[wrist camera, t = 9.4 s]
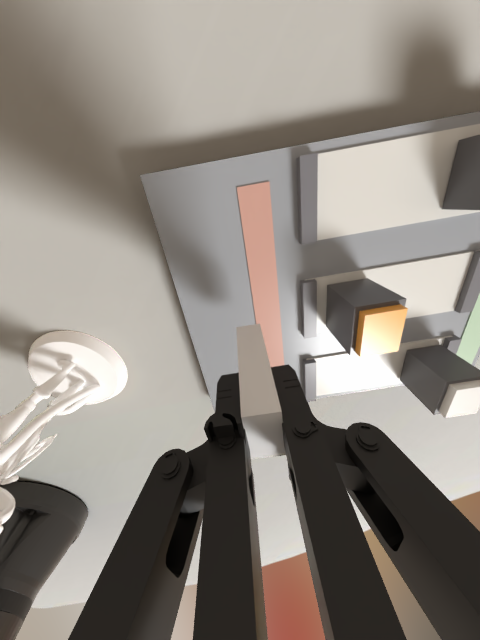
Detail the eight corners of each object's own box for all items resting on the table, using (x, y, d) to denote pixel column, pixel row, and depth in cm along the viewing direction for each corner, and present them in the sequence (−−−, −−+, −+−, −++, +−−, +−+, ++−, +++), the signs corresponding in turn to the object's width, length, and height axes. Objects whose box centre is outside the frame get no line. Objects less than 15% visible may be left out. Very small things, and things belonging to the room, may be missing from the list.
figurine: (6, 355, 20) (-418, 645, 7) (80, 314, 19) (-279, 583, 5) (80, 412, 24) (-101, 667, 11) (146, 382, 23) (31, 635, 9)
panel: (216, 400, 24) (215, 420, 22) (149, 178, 14) (135, 173, 12) (454, 363, 24) (477, 379, 21) (555, 102, 14) (618, 82, 11)
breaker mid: (325, 326, 18) (354, 361, 14) (327, 284, 16) (360, 311, 12) (362, 320, 18) (402, 354, 14) (367, 278, 16) (414, 302, 12)
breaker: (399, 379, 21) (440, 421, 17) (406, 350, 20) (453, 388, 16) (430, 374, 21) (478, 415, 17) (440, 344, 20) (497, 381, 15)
